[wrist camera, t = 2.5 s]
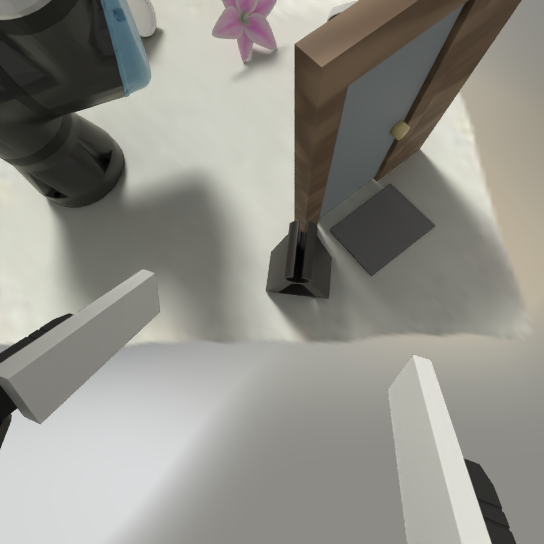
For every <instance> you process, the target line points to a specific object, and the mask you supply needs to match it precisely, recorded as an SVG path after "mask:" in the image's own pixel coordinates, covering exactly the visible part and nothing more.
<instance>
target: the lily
mask: <svg viewBox="0 0 544 544" xmlns="http://www.w3.org/2000/svg"><path fill="white" fill-rule="evenodd" d="M222 2H223V4H224V6H225V8H226V9H225V10H224V11H223V13H222V14H221V16H220V18H219V19H218V21H217V23H216V24H215V26H214V28H213V31H212V35H213V36H214V37H217V38H223V39H237V42H238V46H239V50H240V54H241V57H242V60H243V62H246V60H247V58H248V56H249V54H250V51H251V48H252V45H253V42H254V43H256V44H258V45H260V46H263V47H265V48H268V49H271V50H275V49H276V48H277V46H276V41H275V38H274V35H273V33H272V30H271V28H270V25H269V23H268V21H267V20H266V17H267V16H268V15H269V13H270V12H271V10H272V9H273V7H274V5H275V3H276V0H222Z"/></svg>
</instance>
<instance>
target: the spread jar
mask: <svg viewBox="0 0 544 544" xmlns="http://www.w3.org/2000/svg"><path fill="white" fill-rule="evenodd" d="M127 2H128V5H129V8H130V10H131V13H132V15H133V18H134V21H135V24H136V26H137V29H138V32H139V35H140V37H147V36H151V35H152V34H153V33H154V31H155V29H156V15H155V11H154V8H153V6H152V3H151V2H150V0H127Z"/></svg>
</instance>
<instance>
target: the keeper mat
mask: <svg viewBox="0 0 544 544" xmlns="http://www.w3.org/2000/svg"><path fill="white" fill-rule="evenodd" d="M434 226H435V225H434V224H433V223H432V222H431V221H430V220H429V219H428V218H427V217H425V216H424V215H423V214H422V213H421V212H420V211H419V210H418V209H417V208H416V207H415V206H414V205H413V204H412V203H411V202H409V201H408V200H407V199H406V198H405V197H404V196H403V195H402V194H401V193H400V192H399V191H398V190H397V189H396V188H395V187H394V186H392V185H391V184H390V185H389V186H387V187H386V188H385V189H383V190H382V191H381V192H379V193H378V194H377V195H375V196H374V197H373V198H372V199H370V200H369V201H368V202H366V203H365V204H364V205H362V206H361V207H360V208H358V209H357V210H356V211H354V212H353V213H352V214H350V215H349V216H348V217H346V218H345V219H344V220H343V221H341V222H340V223H339V224H337V225H336V226H335V227H333V228H332V229H331V230H330V231H331V232H332V233H333V234H334V236H335V237H336V238H337V239H338V240H339V241H340V242H341V243H342V244H343V245H344V247H345V248H346V249H347V250H348V251H349V252H350V253H351V254H352V255H353V256H354V257H355V259H356V260H357V261H358V262H359V263H360V264H361V265H362V266H363V267H364V268H365V270H366V271H367V272H368V273H369V274H370V275H371V276H372V275H374V274H375V273H376V272H377V271H379V270H380V269H381V268H382V267H384V266H385V265H386V264H387V263H389V262H390V261H391V260H393V259H394V258H395V257H396V256H398V255H399V254H400V253H401V252H403V251H404V250H405V249H406V248H408V247H409V246H410V245H411V244H413V243H414V242H415V241H417V240H418V239H419V238H420V237H422V236H423V235H424V234H425V233H427V232H428V231H429V230H430V229H432V228H433V227H434Z"/></svg>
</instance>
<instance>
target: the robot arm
mask: <svg viewBox="0 0 544 544" xmlns="http://www.w3.org/2000/svg"><path fill="white" fill-rule="evenodd" d="M150 79H151V70H150V66H149V62H148V58H147V55H146V52H145V49H144V46H143V43H142V40H141V38H140V35H139V32H138V29H137V26H136V24H135V21H134V18H133V15H132V13H131V10H130V8H129V5H128V2H127V0H0V158H1V159H3V160H5V161H6V162H8V163H10V164H11V165H13V166H14V167H15V168H16V169H17V170H18V171H19V172H20V173H21V174H22V175H23V176H24V177H25V178H26V179H27V180H28V181H29V182H30V183H31V184H32V185H33V186H34V187H35V188H36V189H37V190H38V191H39V192H40V193H41V194H42V195H43V196H45V197H46V198H48V199H50V200H52V201H54V202H56V203H57V204H59V205H62V206H66V207H81V206H85V205H89V204H91V203H93V202H96V201H97V200H99V199H101V198H102V197H103V196H105V195H106V194H107V193H108V192H109V191H110V190H111V189H112V188H113V187H114V185H115V184H116V183H117V181H118V179H119V177H120V175H121V172H122V169H123V153H122V150H121V148H120V146H119V145H118V144H117V142H116V141H115V140H114V139H113V138H112V137H111V136H110V135H109V134H108V133H107V132H106V131H104V130H103V129H101V128H100V127H98V126H96V125H95V124H93V123H91V122H90V121H88V120H86V119H84V118H83V117H81V116H79V115H78V114H76V113H74V112H77V111H80V110H83V109H86V108H90V107H93V106H96V105H99V104H103V103H106V102H109V101H112V100H115V99H119V98H122V97H127V96H129V94H130V93H133V92H135V91H137V90H140V89H142V88H144V87H146V86H147V85H148V84H149V82H150ZM159 312H160V306H159V299H158V291H157V283H156V275H155V273H153V272H150V271H147V270H144V269H142V270H141V271H139V272H138V273H136V274H135V275H133V276H132V277H130V278H129V279H127V280H126V281H124V282H123V283H121V284H119V285H118V286H116V287H115V288H113V289H112V290H110V291H109V292H107V293H106V294H104V295H103V296H101V297H100V298H98V299H97V300H95V301H94V302H92V303H91V304H89V305H88V306H86V307H85V308H83V309H82V310H80V311H79V312H77V313H76V314H74V315H72V314H70V313H69V314H66V315H64V316H61V317H59V318H56V319H54V320H52V321H50V322H49V323H47V324H46V325H44V326H43V327H41V328H40V329H39V330H36V331H35V332H33V333H31V334H30V335H29V336H28V337H25V338H24V339H22V340H20V341H19V342H17V343H16V344H14V345H12V346H11V347H9V348H8V349H6V350H5V351H3V352H1V353H0V448H1V445H2V443H3V441H4V438H5V435H6V433H7V430H8V427H9V425H10V422H11V417H12V415H11V413H12V412H13V411H14V410H16V409H17V408H18V409H19V411H20V412H21V413H22V415H23V416H24V417H26V418H28V419H30V420H32V421H35V422H37V423H39V424H41V423H42V422H43V421H44V420H45V419H47V418H48V417H49V416H50V415H51V414H52V413H53V412H54V411H55V410H56V409H57V408H58V407H59V406H60V405H61V404H63V403H64V402H65V401H66V400H67V399H68V398H69V397H70V396H71V395H72V394H73V393H74V392H75V391H76V390H77V389H78V388H79V387H81V385H83V384H84V383H85V382H86V381H87V380H88V379H89V378H90V377H91V376H92V375H93V374H94V373H95V372H97V371H98V370H99V369H100V368H101V367H102V366H103V365H104V364H105V363H106V362H107V361H108V360H109V359H110V358H111V357H112V356H114V355H115V354H116V353H117V352H118V351H119V350H120V349H121V348H122V347H123V346H124V345H125V344H126V343H127V342H128V341H130V340H131V339H132V338H133V337H134V336H135V335H136V334H137V333H138V332H139V331H140V330H141V329H142V328H143V327H144V326H146V325H147V324H148V323H149V322H150V321H151V320H152V319H153V318H154V317H155V316H156V315H157V314H158V313H159ZM388 396H389V404H390V411H391V420H392V427H393V436H394V442H395V451H396V458H397V467H398V475H399V483H400V491H401V498H402V506H403V514H404V522H405V530H406V537H407V544H516V542H515V540H514V537H513V534H512V532H510V530H509V524H508V522H507V519H506V517H505V514H504V512H502V507H501V504H500V501H499V499H498V496H497V493H496V491H495V488H494V486H493V484H492V483H491V481H490V480H489V478H488V477H487V475H486V474H485V472H484V470H483V469H482V467H481V466H480V465H479V464H477V463H475V462H472V461H469V460H467V459H464V458H463V456H462V453H461V450H460V447H459V444H458V441H457V437H456V434H455V432H454V428H453V425H452V423H451V419H450V416H449V413H448V410H447V407H446V404H445V402H444V398H443V395H442V392H441V389H440V386H439V383H438V380H437V377H436V374H435V371H434V368H433V365H432V362H431V360H429V359H426V358H422V357H419V356H416V355H412V356H411V358H410V359H409V361H408V362H407V364H406V365H405V366H404V368H403V369H402V370H401V372H400V373H399V375H398V376H397V378H396V379H395V380H394V382H393V383H392V385H391V386H390V387H389V389H388Z"/></svg>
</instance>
